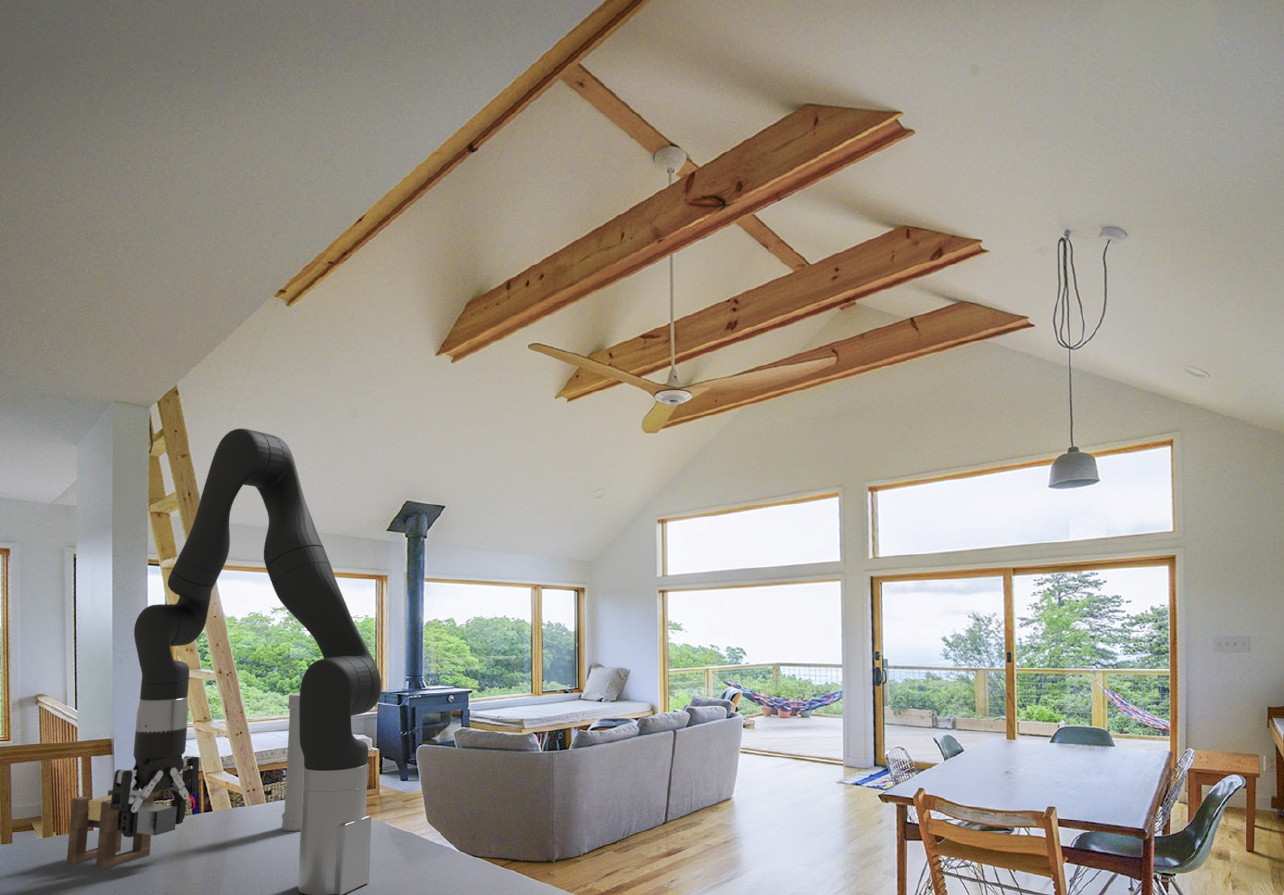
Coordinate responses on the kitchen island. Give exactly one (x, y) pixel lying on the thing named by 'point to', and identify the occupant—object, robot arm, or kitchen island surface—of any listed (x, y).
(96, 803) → the spacer
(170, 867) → the kitchen island surface
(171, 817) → the shaft
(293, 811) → the pipe
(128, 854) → the brown wooden frame
